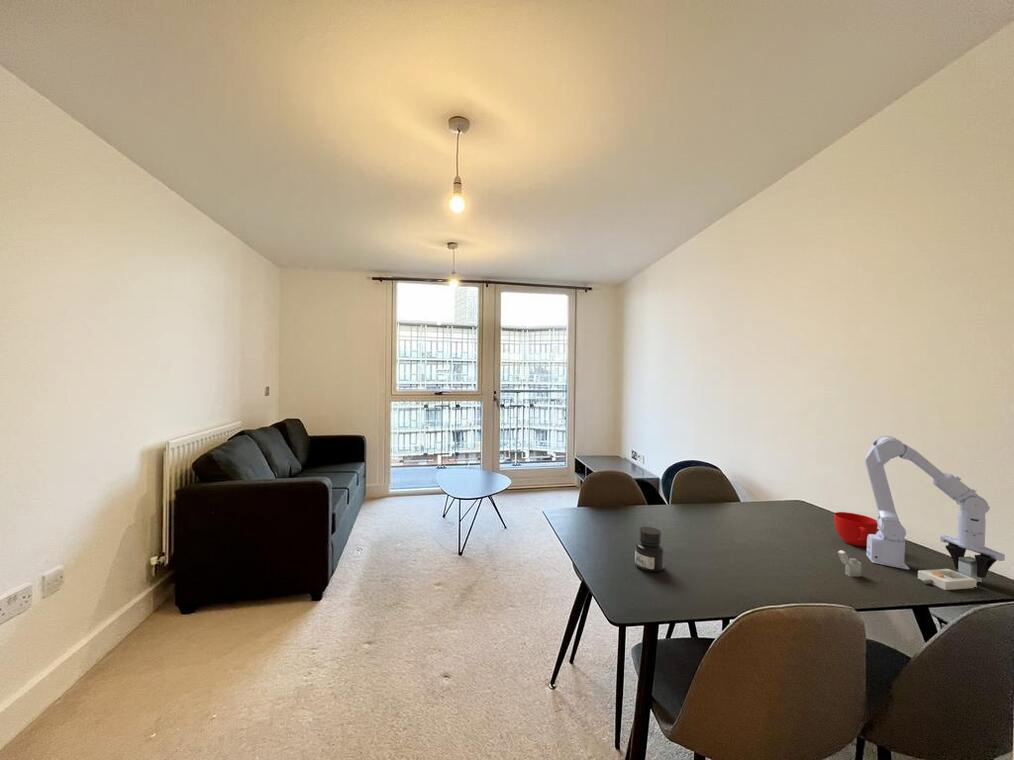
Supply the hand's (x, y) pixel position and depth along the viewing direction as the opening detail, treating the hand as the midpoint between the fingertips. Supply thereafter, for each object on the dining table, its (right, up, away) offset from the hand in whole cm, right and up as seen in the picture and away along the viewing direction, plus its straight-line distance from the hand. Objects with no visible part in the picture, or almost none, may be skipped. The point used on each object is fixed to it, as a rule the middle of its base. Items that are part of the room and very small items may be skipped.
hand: (969, 572), depth 126 cm
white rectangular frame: (-11, -2, -2) cm, 11 cm away
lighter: (-38, -2, +1) cm, 38 cm away
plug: (0, -2, 0) cm, 2 cm away
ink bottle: (-102, 0, +4) cm, 102 cm away
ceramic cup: (-13, -2, +26) cm, 30 cm away
